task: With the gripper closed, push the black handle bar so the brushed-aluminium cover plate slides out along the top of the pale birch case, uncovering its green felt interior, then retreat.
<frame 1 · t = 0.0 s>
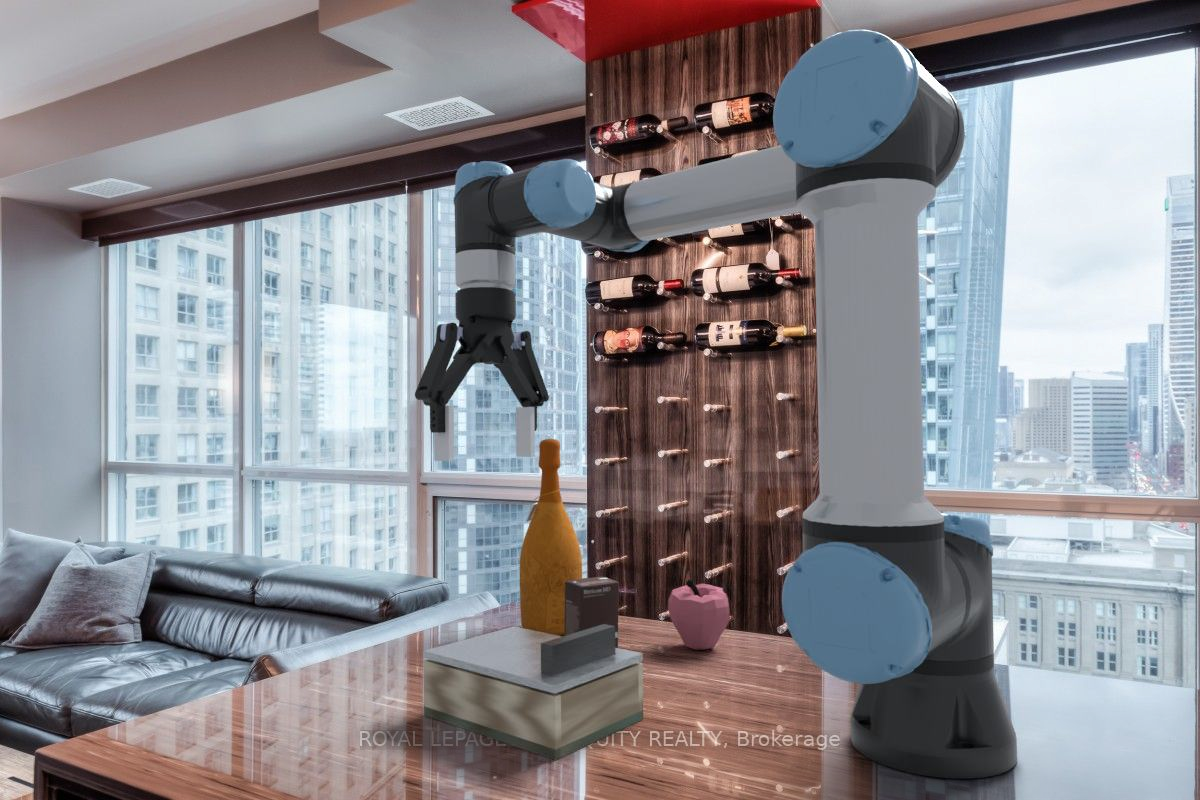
hand: (486, 459, 103), 28 cm above the table, fingers open, 13 cm apart
case: (532, 717, 91), on the table
cover plate: (531, 642, 91), point 8 cm above the table, slide at 0.0 cm
wine bottle: (551, 631, 129), on the table
apple: (698, 649, 118), on the table
box: (591, 675, 106), on the table
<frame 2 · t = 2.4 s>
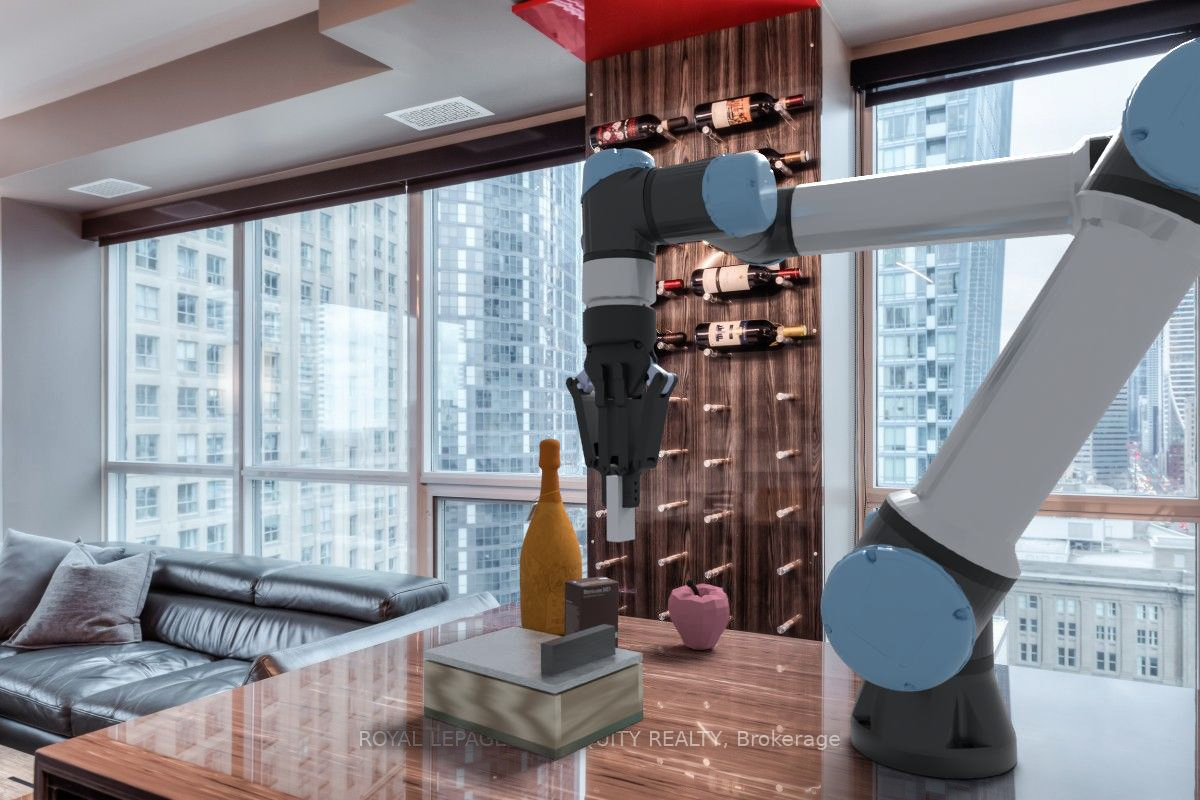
hand: (621, 539, 83), 20 cm above the table, fingers closed
nothing on the table moved.
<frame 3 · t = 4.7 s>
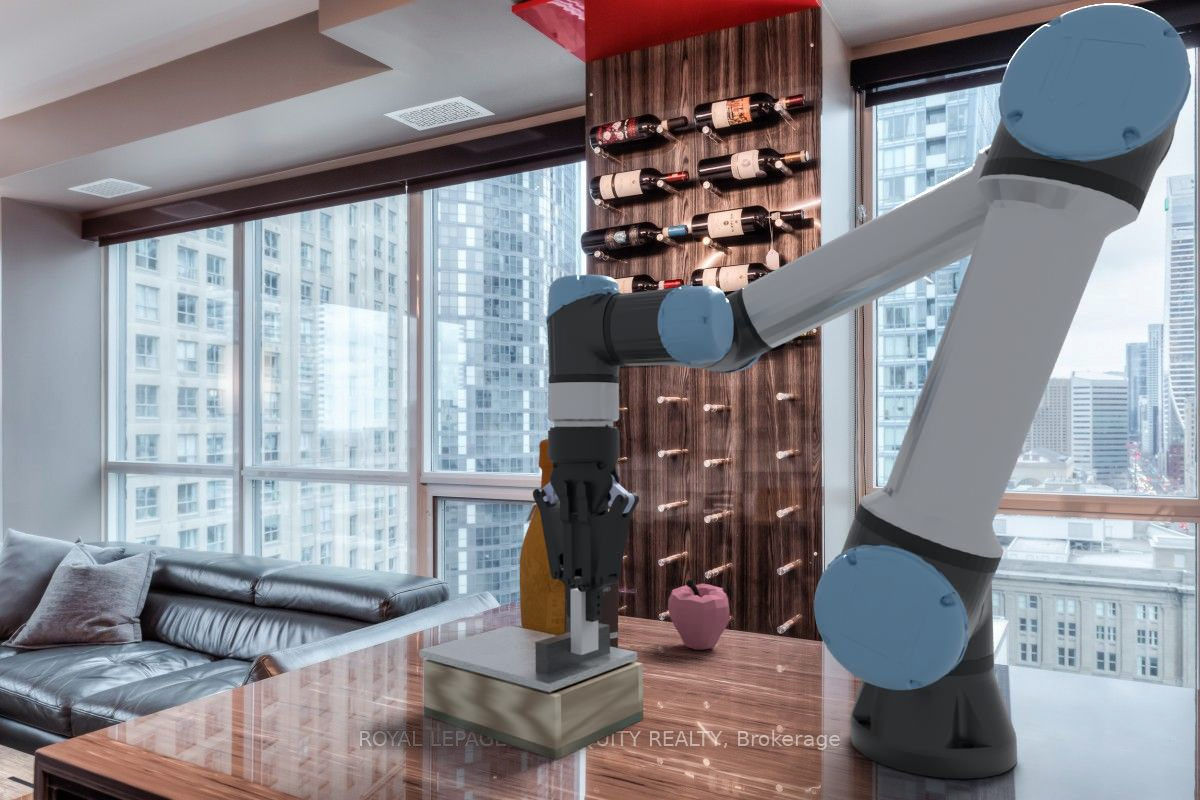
hand: (584, 650, 86), 9 cm above the table, fingers closed
cover plate: (527, 640, 91), point 8 cm above the table, slide at 0.8 cm, touching gripper
everything else where it was.
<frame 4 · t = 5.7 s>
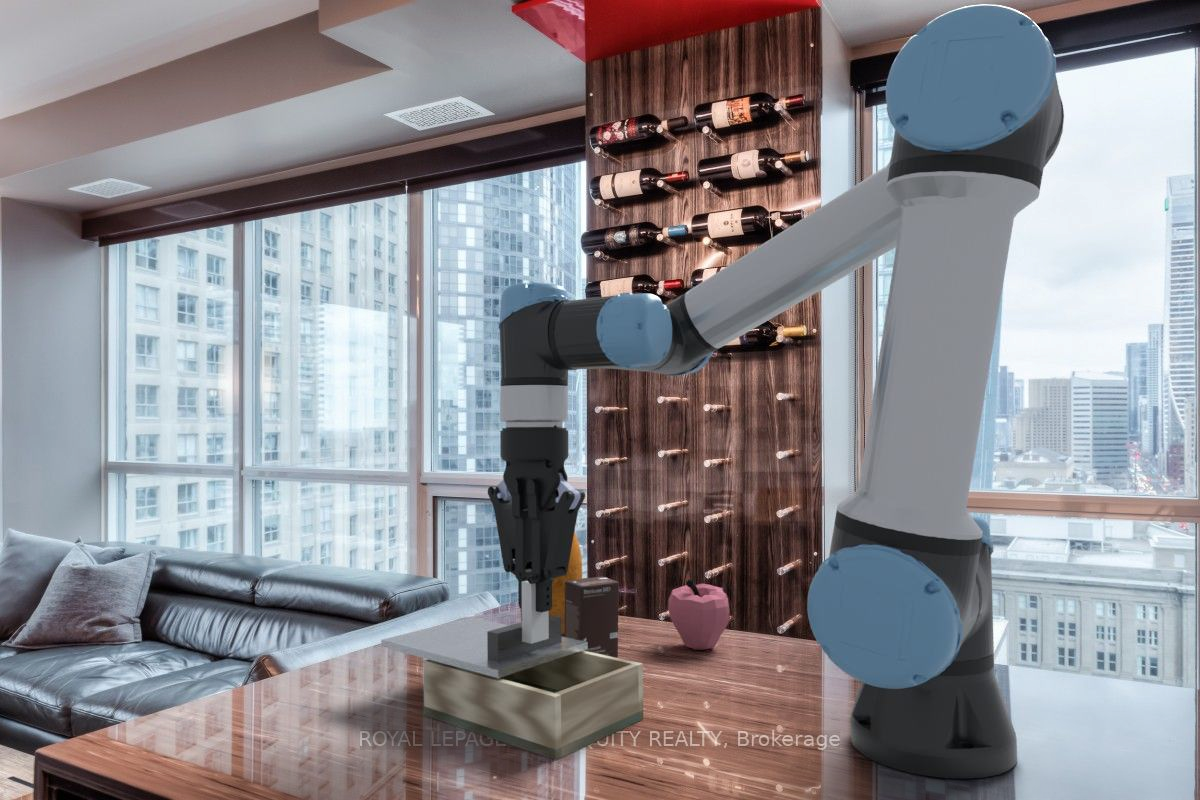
hand: (535, 639, 91), 9 cm above the table, fingers closed
cover plate: (483, 631, 96), point 8 cm above the table, slide at 7.9 cm, touching gripper
everything else where it was.
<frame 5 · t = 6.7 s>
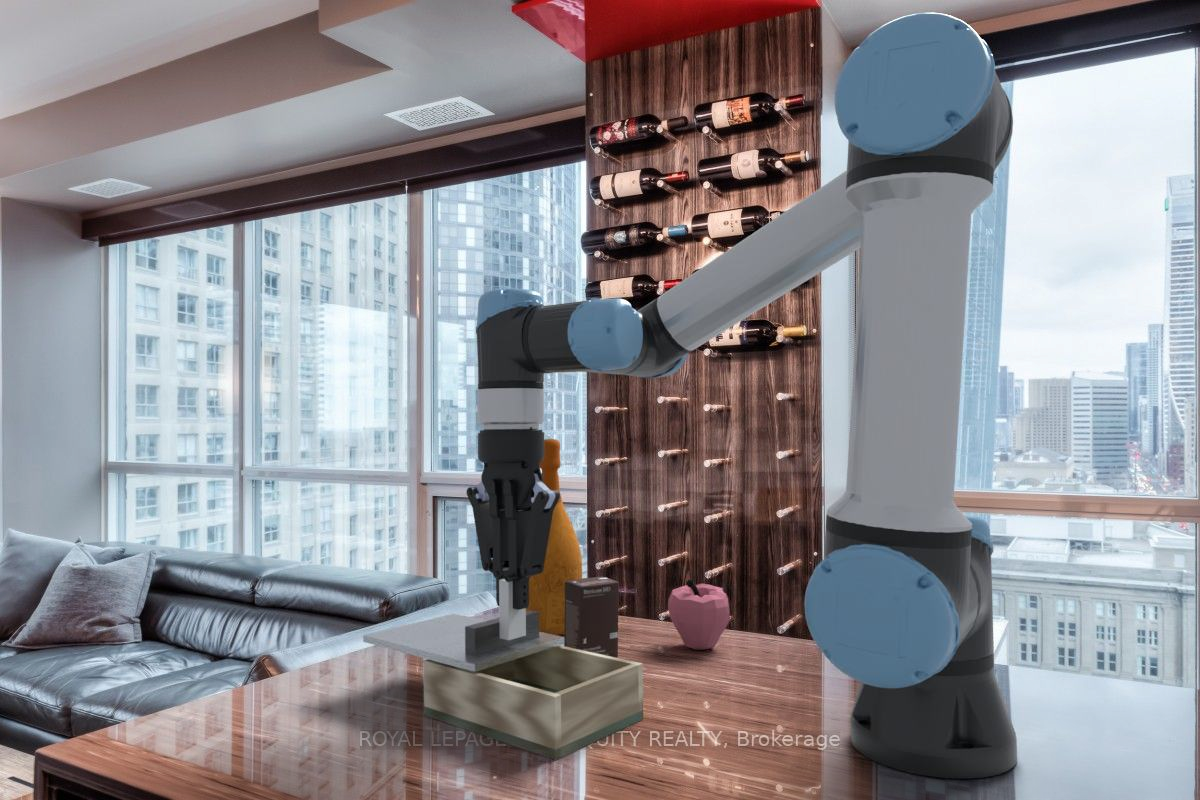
hand: (512, 636, 93), 8 cm above the table, fingers closed
cover plate: (462, 626, 98), point 8 cm above the table, slide at 11.5 cm, touching gripper
everything else where it was.
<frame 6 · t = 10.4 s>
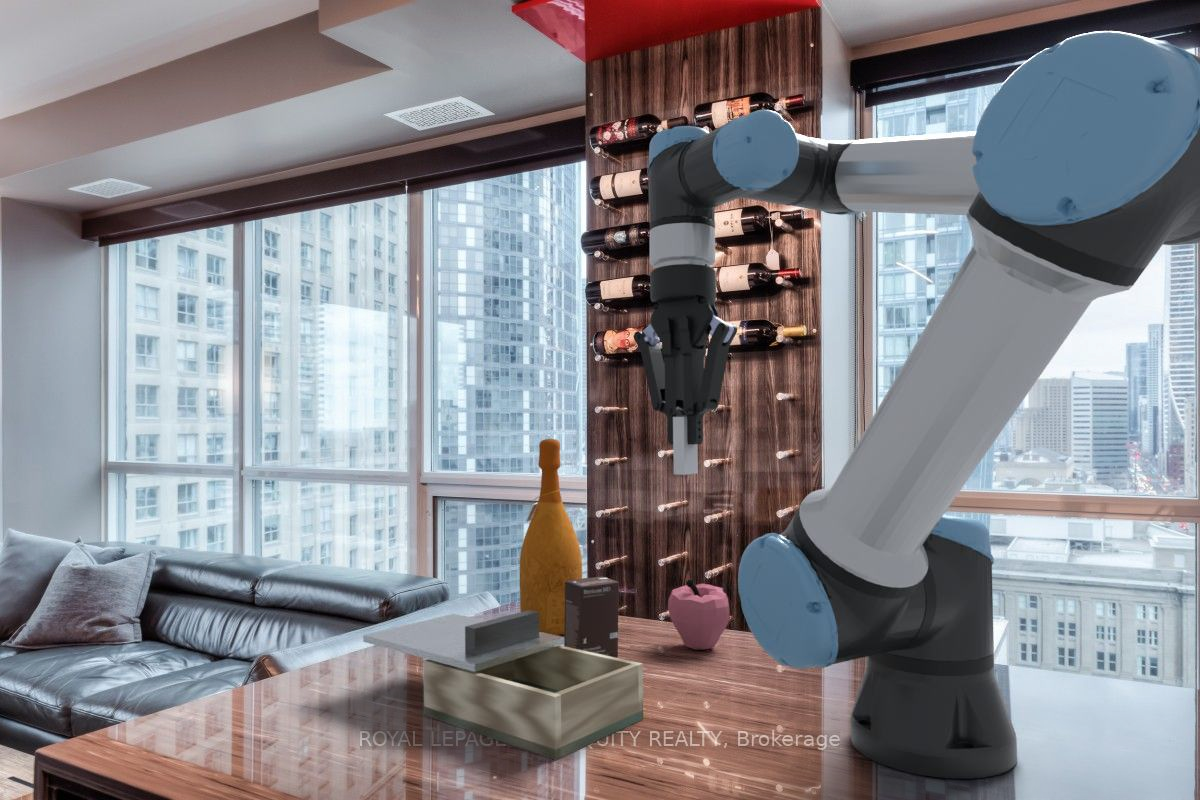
hand: (685, 473, 94), 26 cm above the table, fingers closed
cover plate: (462, 626, 98), point 8 cm above the table, slide at 11.5 cm
everything else where it was.
at the end: cover plate slide at 11.5 cm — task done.
